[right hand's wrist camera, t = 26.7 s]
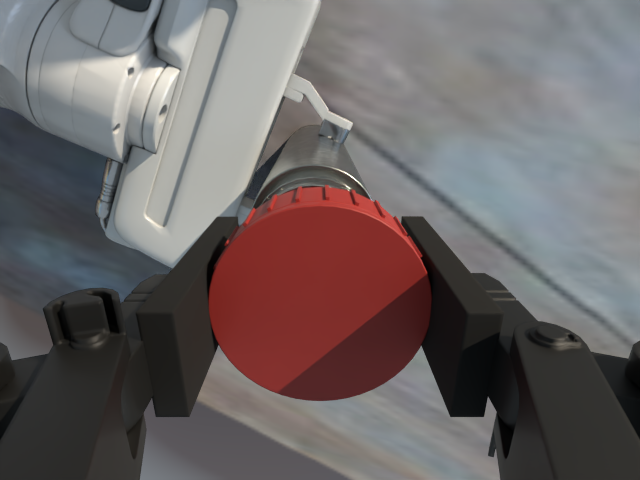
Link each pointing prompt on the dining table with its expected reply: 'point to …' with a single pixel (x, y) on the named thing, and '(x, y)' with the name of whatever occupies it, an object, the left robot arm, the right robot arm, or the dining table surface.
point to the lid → (320, 295)
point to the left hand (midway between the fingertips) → (326, 178)
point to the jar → (311, 166)
